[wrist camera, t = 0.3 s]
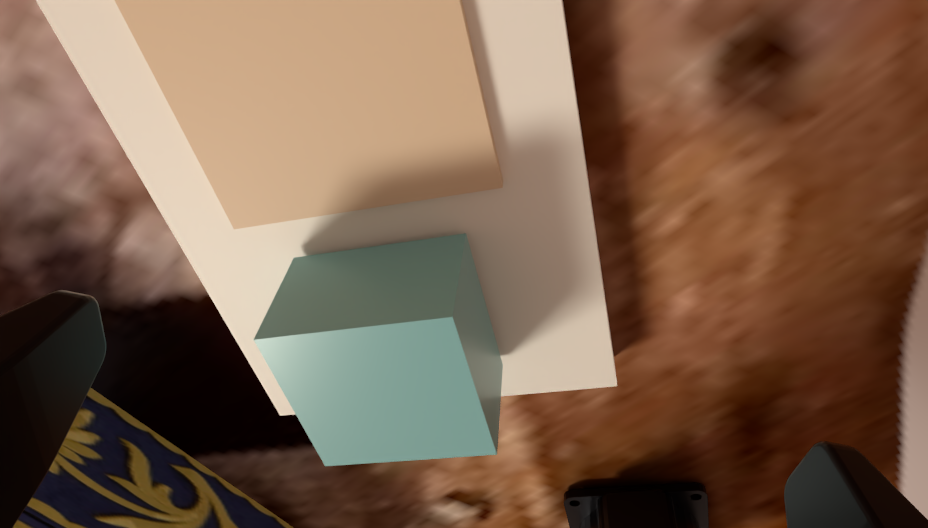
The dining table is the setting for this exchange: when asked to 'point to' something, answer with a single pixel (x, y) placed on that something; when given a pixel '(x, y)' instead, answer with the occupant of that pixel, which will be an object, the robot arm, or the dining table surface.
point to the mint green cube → (387, 352)
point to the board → (361, 152)
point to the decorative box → (133, 481)
